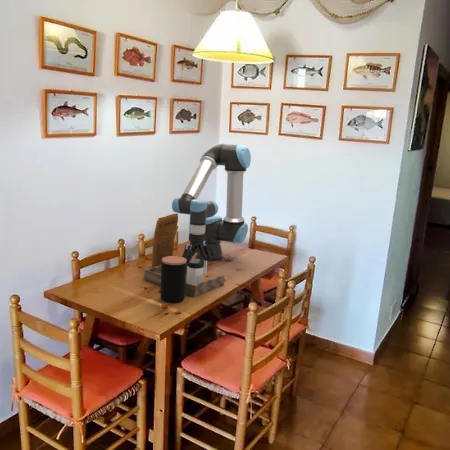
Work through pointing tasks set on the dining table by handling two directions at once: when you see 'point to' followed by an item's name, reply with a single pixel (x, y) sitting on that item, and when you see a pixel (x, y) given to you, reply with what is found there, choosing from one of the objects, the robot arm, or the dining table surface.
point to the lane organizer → (191, 290)
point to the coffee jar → (173, 279)
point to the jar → (195, 271)
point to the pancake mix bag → (164, 238)
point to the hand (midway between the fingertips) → (194, 276)
